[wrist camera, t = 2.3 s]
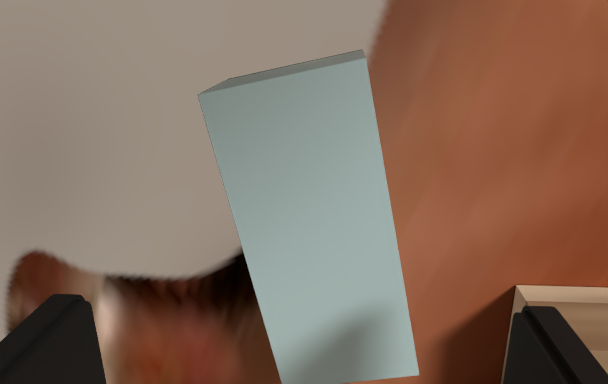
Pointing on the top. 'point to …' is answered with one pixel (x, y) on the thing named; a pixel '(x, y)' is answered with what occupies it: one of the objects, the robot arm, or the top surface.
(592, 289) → the wooden drawer
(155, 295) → the top surface
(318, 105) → the block
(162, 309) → the top surface
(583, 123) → the top surface
